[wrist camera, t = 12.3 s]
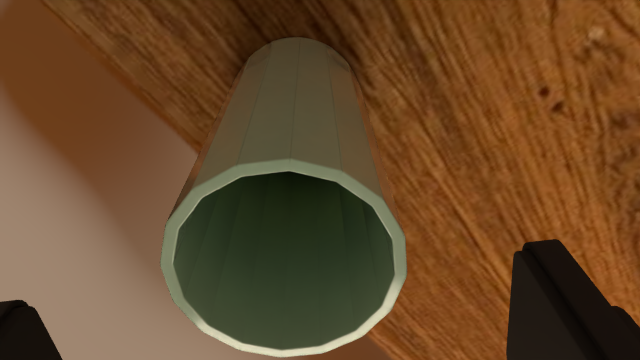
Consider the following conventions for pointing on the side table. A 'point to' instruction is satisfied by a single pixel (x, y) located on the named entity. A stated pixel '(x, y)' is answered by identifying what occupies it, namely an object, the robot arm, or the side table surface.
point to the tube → (287, 211)
